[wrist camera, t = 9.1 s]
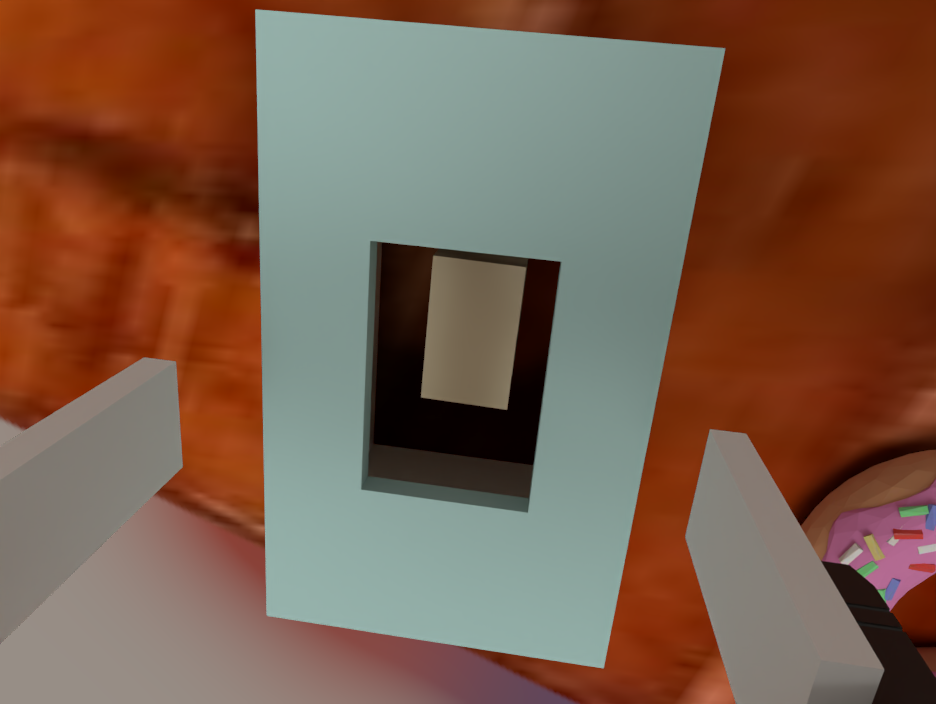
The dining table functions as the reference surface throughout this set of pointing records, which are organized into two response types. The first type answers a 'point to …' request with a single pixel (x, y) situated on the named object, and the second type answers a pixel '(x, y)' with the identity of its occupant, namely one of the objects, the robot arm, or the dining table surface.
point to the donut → (883, 527)
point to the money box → (483, 231)
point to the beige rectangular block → (473, 327)
